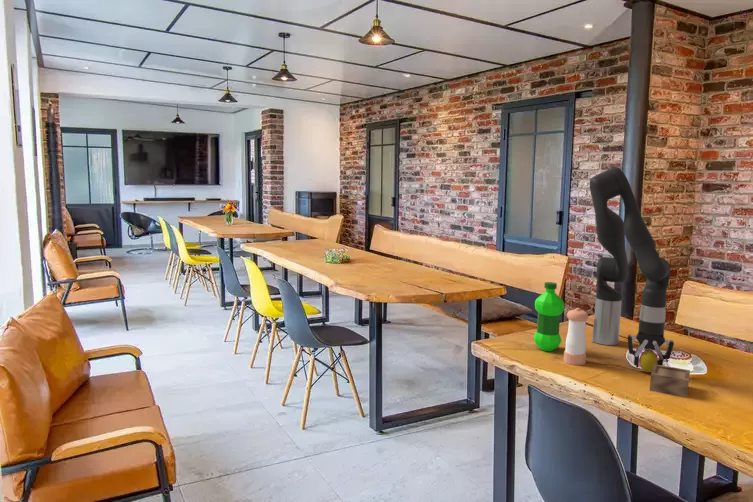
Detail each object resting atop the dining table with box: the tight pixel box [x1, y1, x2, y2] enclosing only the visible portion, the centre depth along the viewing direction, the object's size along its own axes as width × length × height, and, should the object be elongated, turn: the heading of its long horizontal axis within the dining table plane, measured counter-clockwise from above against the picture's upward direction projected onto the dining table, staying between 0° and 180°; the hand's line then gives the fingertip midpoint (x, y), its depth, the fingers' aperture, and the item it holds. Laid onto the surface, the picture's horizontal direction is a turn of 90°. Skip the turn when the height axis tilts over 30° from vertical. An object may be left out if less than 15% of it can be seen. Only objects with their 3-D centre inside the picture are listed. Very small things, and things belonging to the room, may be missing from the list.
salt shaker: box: [563, 307, 589, 366], centre depth 193 cm, size 7×7×19 cm
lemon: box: [639, 349, 659, 374], centre depth 184 cm, size 6×6×8 cm
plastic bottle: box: [533, 281, 565, 352], centre depth 206 cm, size 10×10×25 cm
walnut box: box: [649, 364, 691, 399], centre depth 171 cm, size 10×10×6 cm
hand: (647, 368), depth 184 cm, fingers open, 5 cm apart
